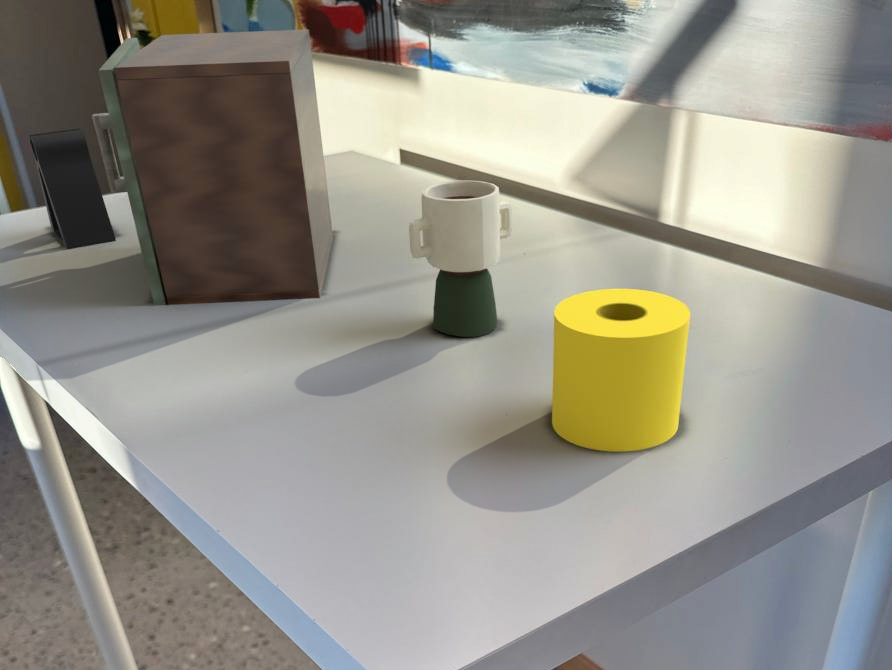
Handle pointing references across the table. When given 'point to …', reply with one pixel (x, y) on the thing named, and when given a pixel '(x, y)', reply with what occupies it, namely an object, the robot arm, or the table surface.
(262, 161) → the cupboard
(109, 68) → the cupboard door
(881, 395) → the table surface
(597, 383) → the yellow toilet paper roll
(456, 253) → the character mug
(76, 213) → the phone stand
